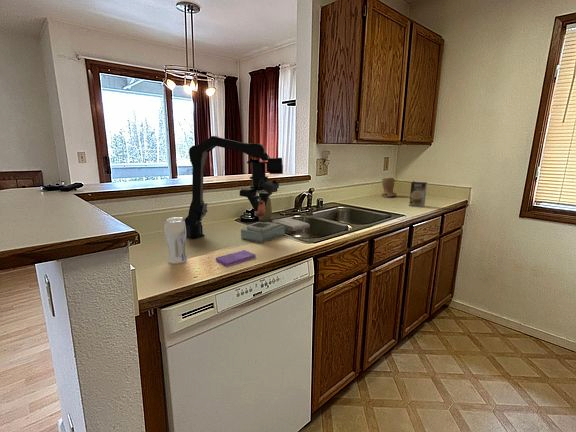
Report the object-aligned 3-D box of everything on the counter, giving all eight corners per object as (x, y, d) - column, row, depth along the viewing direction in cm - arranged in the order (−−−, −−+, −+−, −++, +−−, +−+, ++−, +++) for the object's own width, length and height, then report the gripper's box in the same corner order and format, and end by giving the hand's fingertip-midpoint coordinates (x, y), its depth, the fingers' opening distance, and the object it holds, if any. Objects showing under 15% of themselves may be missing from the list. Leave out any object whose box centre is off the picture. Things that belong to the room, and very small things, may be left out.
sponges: (255, 259, 114) (255, 254, 113) (226, 267, 105) (226, 262, 105) (244, 254, 119) (244, 249, 118) (215, 262, 110) (215, 257, 110)
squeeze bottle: (270, 222, 165) (269, 188, 161) (255, 221, 167) (254, 187, 162) (273, 218, 173) (273, 186, 169) (259, 218, 174) (259, 185, 170)
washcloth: (287, 221, 169) (287, 216, 168) (311, 228, 156) (311, 222, 155) (269, 225, 161) (269, 219, 160) (293, 232, 148) (293, 226, 147)
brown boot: (384, 194, 259) (385, 176, 255) (398, 195, 252) (400, 177, 248) (376, 196, 247) (378, 177, 244) (391, 198, 240) (393, 178, 237)
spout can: (260, 216, 133) (260, 198, 131) (252, 215, 135) (251, 197, 134) (267, 214, 137) (266, 197, 135) (259, 213, 139) (258, 196, 137)
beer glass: (170, 257, 113) (167, 217, 110) (190, 257, 114) (187, 217, 110) (164, 265, 106) (160, 222, 103) (185, 264, 107) (182, 222, 104)
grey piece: (262, 243, 130) (262, 230, 129) (241, 238, 137) (240, 225, 136) (288, 232, 145) (288, 221, 144) (268, 229, 152) (268, 217, 151)
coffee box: (408, 206, 210) (410, 182, 206) (410, 204, 215) (412, 181, 211) (423, 207, 205) (425, 183, 201) (424, 205, 210) (427, 182, 207)
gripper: (258, 177, 120) (260, 216, 124) (287, 173, 135) (287, 208, 138) (237, 175, 126) (239, 213, 130) (266, 172, 141) (267, 206, 145)
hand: (259, 210), depth 136 cm, fingers closed on spout can, 5 cm apart
